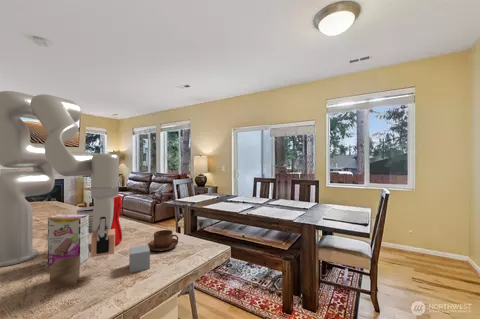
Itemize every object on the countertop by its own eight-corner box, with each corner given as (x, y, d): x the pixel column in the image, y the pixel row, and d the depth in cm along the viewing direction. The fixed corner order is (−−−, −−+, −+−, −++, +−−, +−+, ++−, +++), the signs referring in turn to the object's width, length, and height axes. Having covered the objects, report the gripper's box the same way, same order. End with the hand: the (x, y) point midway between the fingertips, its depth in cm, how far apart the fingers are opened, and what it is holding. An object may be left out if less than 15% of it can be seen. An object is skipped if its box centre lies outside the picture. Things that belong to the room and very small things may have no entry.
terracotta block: (90, 257, 66) (91, 237, 66) (93, 249, 71) (93, 231, 71) (113, 253, 69) (114, 234, 69) (114, 246, 74) (115, 228, 74)
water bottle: (112, 249, 88) (113, 187, 88) (89, 247, 91) (90, 186, 91) (128, 241, 97) (129, 185, 97) (107, 239, 100) (107, 184, 100)
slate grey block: (129, 273, 71) (129, 254, 71) (129, 265, 76) (129, 247, 76) (149, 268, 73) (149, 250, 73) (148, 261, 79) (148, 244, 79)
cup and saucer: (176, 240, 99) (176, 227, 99) (179, 251, 88) (179, 235, 88) (148, 244, 95) (148, 230, 95) (147, 255, 84) (147, 239, 84)
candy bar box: (46, 265, 75) (46, 217, 75) (58, 259, 80) (58, 214, 80) (79, 265, 75) (80, 217, 75) (89, 258, 80) (89, 213, 80)
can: (83, 235, 105) (83, 210, 105) (72, 231, 111) (72, 207, 111) (108, 229, 114) (108, 206, 114) (96, 225, 120) (96, 203, 120)
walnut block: (49, 290, 61) (49, 268, 61) (55, 279, 67) (55, 259, 67) (76, 284, 64) (76, 263, 64) (79, 274, 69) (79, 255, 69)
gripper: (94, 189, 76) (93, 241, 76) (86, 197, 61) (84, 262, 61) (119, 188, 79) (117, 238, 80) (117, 196, 64) (116, 257, 64)
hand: (103, 248), depth 70 cm, fingers closed on terracotta block, 6 cm apart
